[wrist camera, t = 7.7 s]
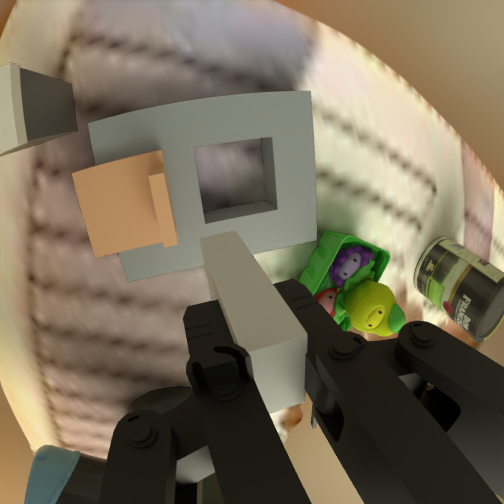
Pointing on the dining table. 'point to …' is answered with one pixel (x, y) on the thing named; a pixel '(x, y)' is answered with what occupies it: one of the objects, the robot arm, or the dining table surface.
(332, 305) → the fruit basket
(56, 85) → the plug
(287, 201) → the socket
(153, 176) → the tan plate with tab
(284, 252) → the dining table surface
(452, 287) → the coffee can
